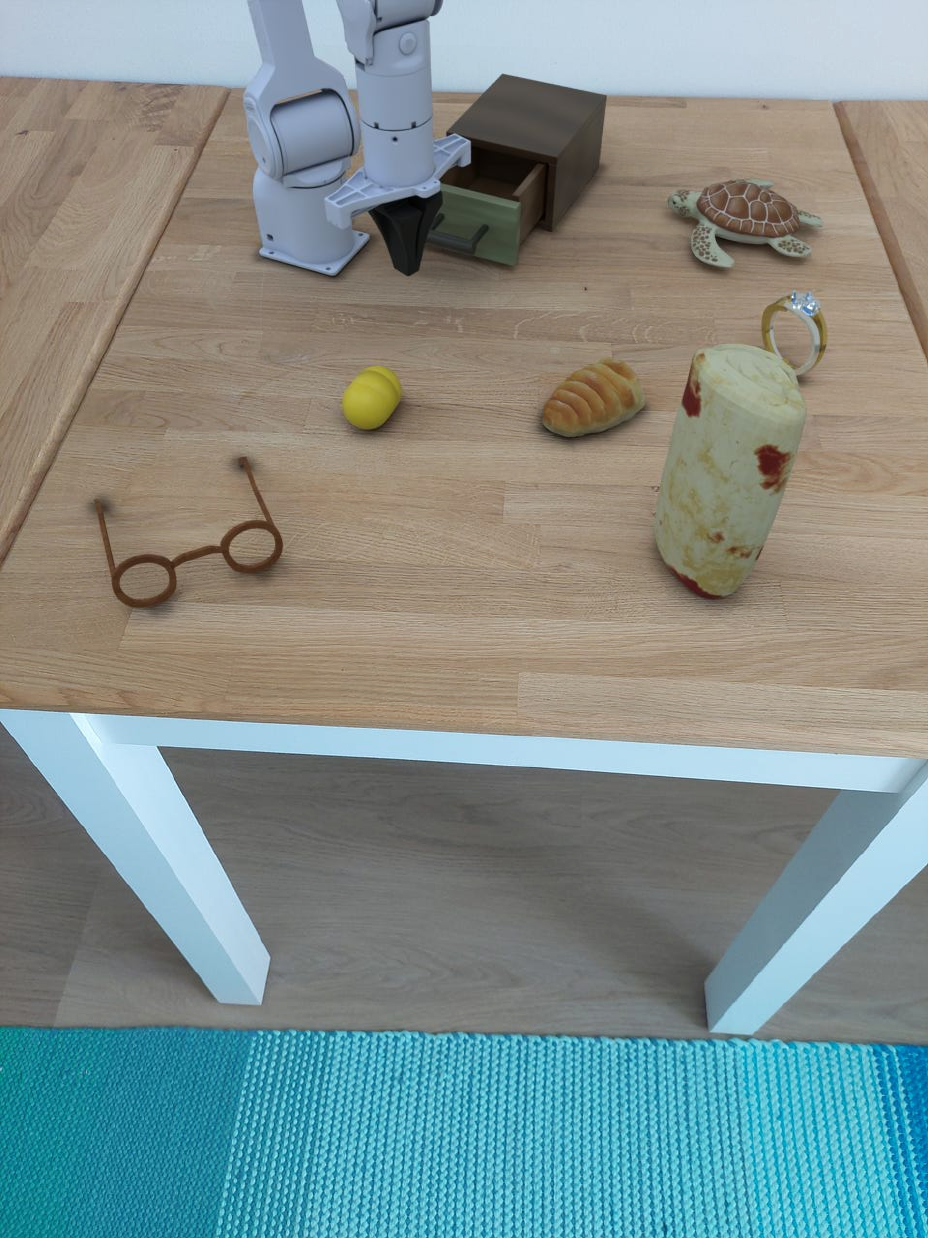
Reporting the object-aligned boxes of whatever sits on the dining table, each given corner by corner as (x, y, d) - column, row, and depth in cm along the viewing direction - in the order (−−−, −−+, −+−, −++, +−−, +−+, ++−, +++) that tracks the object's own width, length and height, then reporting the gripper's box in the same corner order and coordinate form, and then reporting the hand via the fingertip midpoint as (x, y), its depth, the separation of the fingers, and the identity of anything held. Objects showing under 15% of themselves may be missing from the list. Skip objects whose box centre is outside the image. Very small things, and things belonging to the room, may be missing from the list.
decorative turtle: (688, 175, 109) (696, 132, 105) (831, 207, 105) (845, 163, 101) (639, 257, 99) (646, 213, 95) (794, 296, 95) (808, 251, 91)
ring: (817, 386, 87) (845, 313, 81) (789, 396, 86) (815, 323, 80) (772, 344, 91) (795, 270, 84) (745, 353, 90) (766, 280, 84)
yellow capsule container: (378, 445, 83) (374, 407, 79) (335, 431, 84) (329, 392, 80) (411, 401, 86) (408, 363, 83) (369, 388, 87) (365, 350, 84)
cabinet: (551, 231, 103) (557, 156, 96) (447, 205, 106) (445, 131, 99) (599, 167, 110) (607, 94, 104) (500, 145, 114) (502, 72, 107)
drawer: (495, 290, 95) (496, 232, 89) (394, 263, 98) (390, 205, 92) (562, 201, 104) (567, 144, 99) (469, 179, 107) (468, 122, 102)
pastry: (573, 456, 82) (577, 423, 79) (523, 416, 85) (525, 383, 82) (649, 410, 85) (655, 377, 82) (598, 374, 88) (602, 340, 85)
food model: (625, 548, 76) (665, 344, 59) (687, 514, 78) (743, 308, 62) (706, 629, 71) (775, 432, 55) (771, 591, 73) (855, 389, 57)
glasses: (126, 618, 72) (105, 577, 68) (94, 504, 79) (74, 461, 75) (289, 565, 75) (278, 523, 71) (245, 460, 82) (233, 416, 78)
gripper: (359, 166, 68) (375, 324, 79) (497, 98, 74) (494, 253, 85) (298, 132, 71) (322, 289, 82) (436, 69, 77) (441, 223, 88)
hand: (406, 269), depth 84 cm, fingers closed
